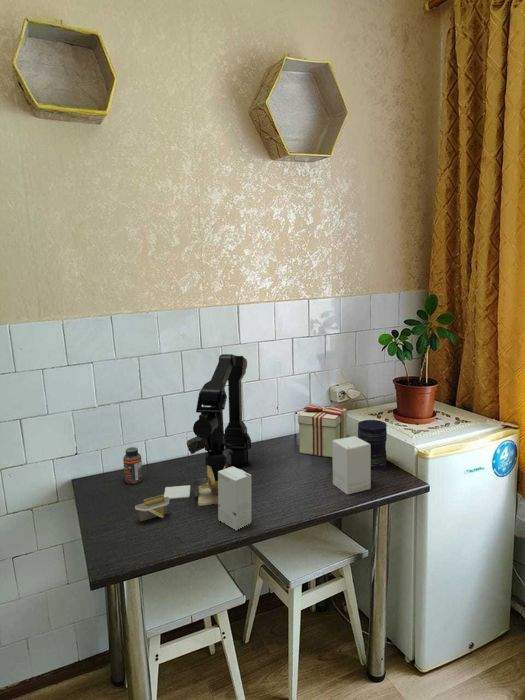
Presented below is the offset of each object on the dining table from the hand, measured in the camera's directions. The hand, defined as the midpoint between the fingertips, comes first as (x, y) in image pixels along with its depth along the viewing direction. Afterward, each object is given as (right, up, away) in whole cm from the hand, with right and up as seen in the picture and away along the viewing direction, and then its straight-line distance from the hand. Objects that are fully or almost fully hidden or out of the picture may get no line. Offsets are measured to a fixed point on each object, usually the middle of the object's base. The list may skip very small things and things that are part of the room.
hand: (216, 475), depth 155 cm
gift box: (+38, +1, +37) cm, 53 cm away
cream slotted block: (0, -6, +1) cm, 7 cm away
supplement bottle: (-29, -6, +14) cm, 33 cm away
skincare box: (+7, -9, -16) cm, 20 cm away
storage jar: (+53, -2, +20) cm, 56 cm away
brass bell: (0, -4, +1) cm, 4 cm away
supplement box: (+43, -5, +4) cm, 43 cm away
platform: (-17, -10, -12) cm, 23 cm away
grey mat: (-13, -6, +4) cm, 15 cm away
